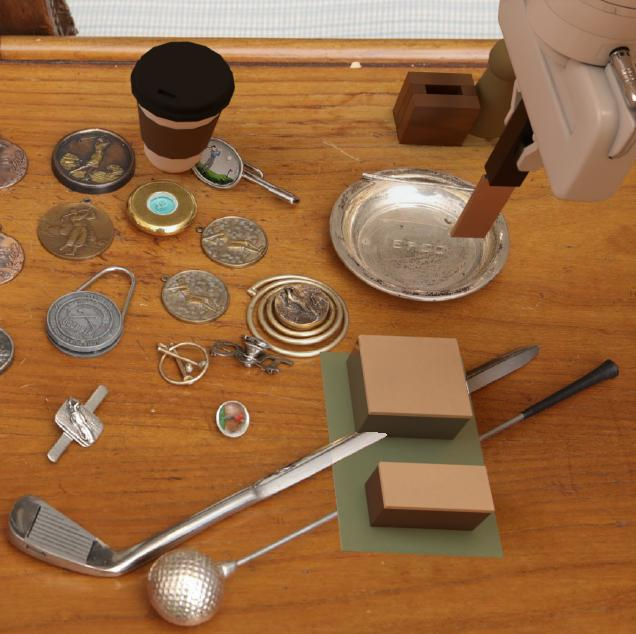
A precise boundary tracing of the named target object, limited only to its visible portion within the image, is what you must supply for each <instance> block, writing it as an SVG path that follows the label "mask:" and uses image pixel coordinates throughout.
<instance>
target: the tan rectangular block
mask: <svg viewBox="0 0 636 634" xmlns="http://www.w3.org/2000/svg"><path fill="white" fill-rule="evenodd" d="M365 491H366V499H367V506H368V514H369V522H370V526H371V527H395V528H419V529H443V530H467V531H473V530H474V529H475V528H476V527H477V526H478V525H480V524H481V523H482V522H483V521H484V520H485V519H486V518H487V517H488V516H489V515H490V514H491V513H493V512H494V511H495V510H496V509H495V504H494V499H493V494H492V490H491V485H490V481H489V476H488V471H487V466H486V465H485V466H473V465H448V464H424V463H399V462H379V464H378V466H377V467H376V469H375V470H374V471H373V473H372V474H371V476H370V477H369V479H368V480H367V481H366V483H365Z"/></svg>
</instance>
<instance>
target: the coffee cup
mask: <svg viewBox="0 0 636 634" xmlns="http://www.w3.org/2000/svg"><path fill="white" fill-rule="evenodd" d="M129 80H130V90H131V94H132V96H133V98H134V99H135V100H136V106H137V114H138V122H139V129H140V137H141V138H140V139H141V141H142V142H143V149H144V154H145V156H146V158H147V159H148V160H149V162H150V163H151V165H152V166H153V167H155V168H157V169H158V170H159V171H162V172H166V173H169V174H175V173H177V174H181V173H183V172H184V173H185V172H186V171H187V172H188V171H189V170H191V169H192V168H193V167H194V166H196V165H197V164H198V163H199V162H200V161H201V160H202V158H203V157H202V156H203V154H204V152H205V150H206V149H207V148H208V147H209V144H210V141H211V138H212V137H213V134H214V131H215V129H216V126H217V124H218V122H219V119H220V117H221V114H222V112H223V111H224V110H225V109H226V108H227V107H228V106H229V105H230V103H231V100H232V99H233V96H234V94H235V90H236V84H235V79H234V73H233V71H232V70H231V66H230V65H229V64H228V63H227V61H226V59H224V57H223V55H222V54H221V53H218V52H216V50H213V49H212V48H210V47H208V46H206V45H205V44H204V45H203V44H200V43H196V42H193V41H189V40H188V41H186V40H184V41H168V42H164V43H161V44H158V45H155V46H152V47H151V48H150V49H149V50H147V51H146V52H145V53H143V54H142V55H141V56H140V58H139V59H138V60H137V61H136V62H135V64H134V66H133V69H132V70H131V73H130V78H129ZM196 163H197V164H196Z"/></svg>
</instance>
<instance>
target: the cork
mask: <svg viewBox="0 0 636 634" xmlns="http://www.w3.org/2000/svg"><path fill="white" fill-rule="evenodd" d="M488 54H489V55H488V61H487V63H488V66H487V68H486V69H485V70H484V72H483V73H482V75H480V77H479V78H478V80H477V82H476V83H475V88H476V92H477V96H478V100H479V104H480V107H481V109H480V111H479V113H478V115H477V117H476V119H475V121H474V123H473V125H472V127H471V129H470V130H469V132H468V134H470V135H473V136H475V137H477V138H482V139H494V138H500V137H501V135H502V133H503V131H504V129H505V128H506V126H505V123H504V120H505V118H506V116H507V114H508V113H509V111H510V109H511V101H512V95H513V89H514V82H515V80H516V76H515V73H514V69H513V66H512V63H511V60H510V57H509V54H508V50H507V47H506V44H505V41H504V38H503V37H502V38H501V39H499V40H498V41H496V43H495V44H493V46H492V47H491V49H490V51H489V53H488Z"/></svg>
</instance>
